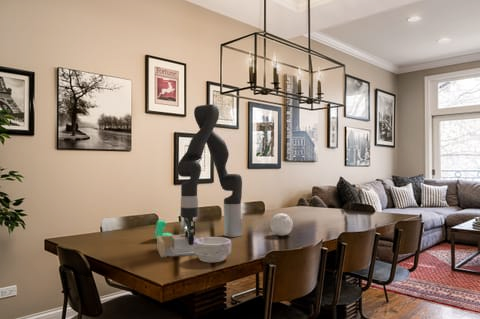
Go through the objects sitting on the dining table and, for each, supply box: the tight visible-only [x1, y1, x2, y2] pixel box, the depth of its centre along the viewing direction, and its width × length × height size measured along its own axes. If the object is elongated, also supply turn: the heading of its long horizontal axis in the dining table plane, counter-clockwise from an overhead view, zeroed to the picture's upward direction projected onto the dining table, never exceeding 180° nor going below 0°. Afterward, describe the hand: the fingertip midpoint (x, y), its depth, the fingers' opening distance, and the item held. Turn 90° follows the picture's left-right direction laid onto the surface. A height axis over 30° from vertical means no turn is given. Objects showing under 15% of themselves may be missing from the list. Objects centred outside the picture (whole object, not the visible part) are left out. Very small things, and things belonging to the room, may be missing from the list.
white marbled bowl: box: [193, 236, 232, 264], centre depth 149 cm, size 15×15×8 cm
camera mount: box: [154, 219, 173, 239], centre depth 190 cm, size 12×8×10 cm, turn 25°
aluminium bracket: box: [172, 236, 198, 251], centre depth 165 cm, size 10×8×5 cm
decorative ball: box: [270, 212, 294, 237], centre depth 200 cm, size 12×12×12 cm
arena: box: [156, 233, 198, 258], centre depth 164 cm, size 18×16×6 cm
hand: (189, 242), depth 164 cm, fingers open, 8 cm apart
